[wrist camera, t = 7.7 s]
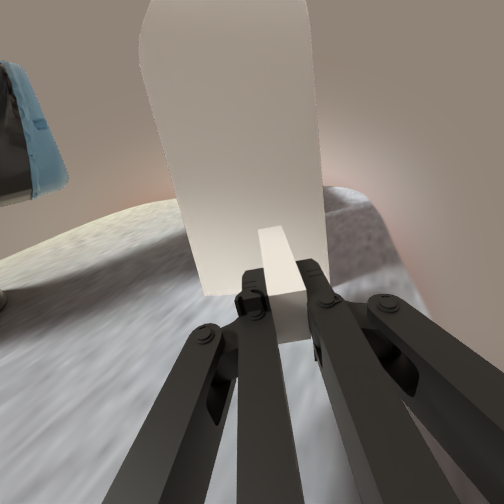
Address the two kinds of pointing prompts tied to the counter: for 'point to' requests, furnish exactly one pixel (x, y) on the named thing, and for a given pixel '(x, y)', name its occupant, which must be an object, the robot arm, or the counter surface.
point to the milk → (237, 128)
